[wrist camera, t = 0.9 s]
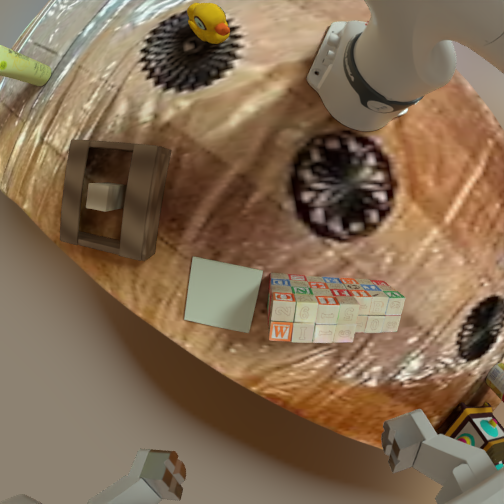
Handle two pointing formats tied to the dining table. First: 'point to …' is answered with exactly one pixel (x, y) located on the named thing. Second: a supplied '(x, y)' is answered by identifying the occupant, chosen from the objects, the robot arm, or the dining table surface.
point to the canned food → (497, 380)
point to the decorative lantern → (479, 431)
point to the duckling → (208, 22)
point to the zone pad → (222, 294)
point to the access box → (136, 200)
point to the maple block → (106, 196)
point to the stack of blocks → (330, 308)
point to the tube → (23, 67)
